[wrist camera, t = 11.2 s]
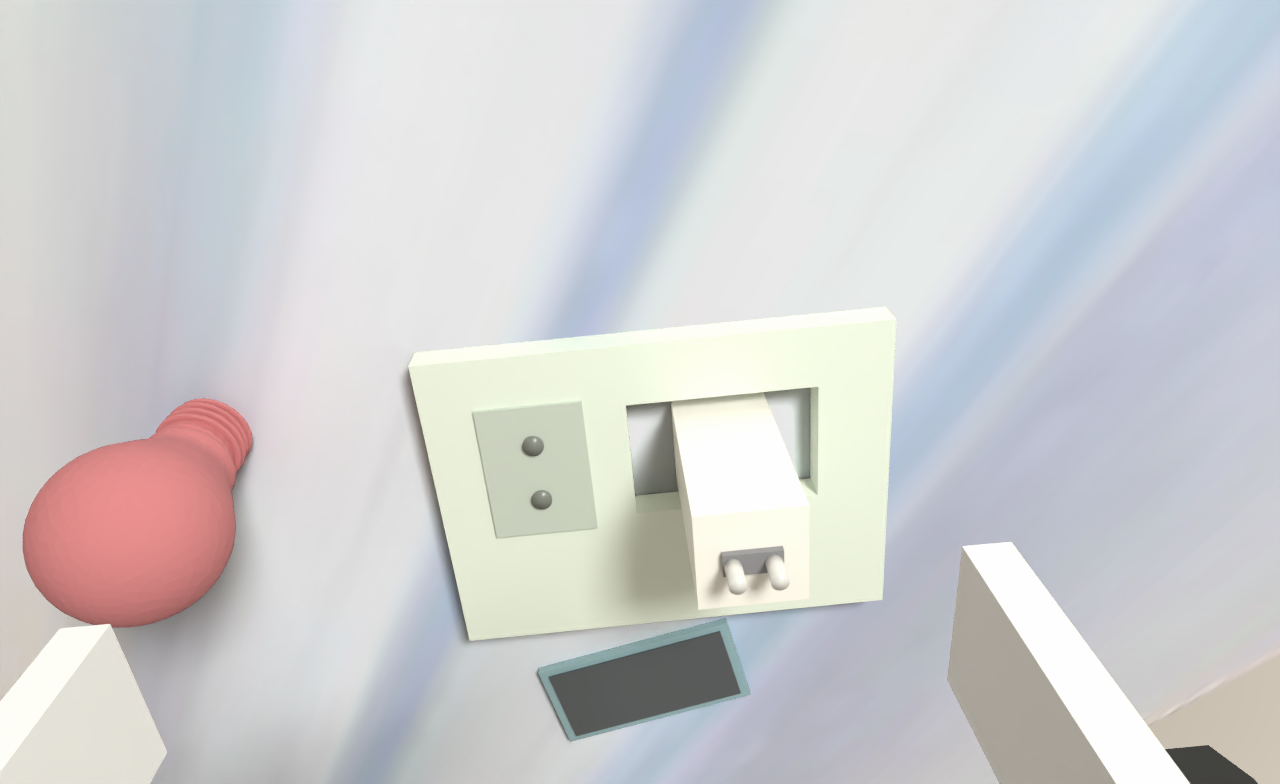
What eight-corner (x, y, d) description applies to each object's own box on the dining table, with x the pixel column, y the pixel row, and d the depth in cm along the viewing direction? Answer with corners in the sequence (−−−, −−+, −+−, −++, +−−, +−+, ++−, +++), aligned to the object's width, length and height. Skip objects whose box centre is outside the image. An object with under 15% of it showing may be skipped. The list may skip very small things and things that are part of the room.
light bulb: (238, 517, 43) (121, 697, 32) (111, 430, 41) (-63, 593, 30) (326, 429, 41) (232, 590, 31) (197, 332, 39) (46, 469, 28)
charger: (676, 479, 44) (702, 637, 33) (670, 400, 42) (696, 542, 31) (764, 470, 44) (818, 626, 33) (762, 391, 42) (819, 530, 31)
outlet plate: (473, 620, 47) (468, 645, 45) (414, 352, 40) (406, 370, 38) (873, 580, 47) (884, 604, 45) (885, 306, 40) (899, 322, 38)
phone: (570, 728, 51) (570, 743, 50) (539, 660, 49) (538, 675, 48) (747, 681, 51) (750, 696, 50) (724, 611, 48) (727, 624, 47)
